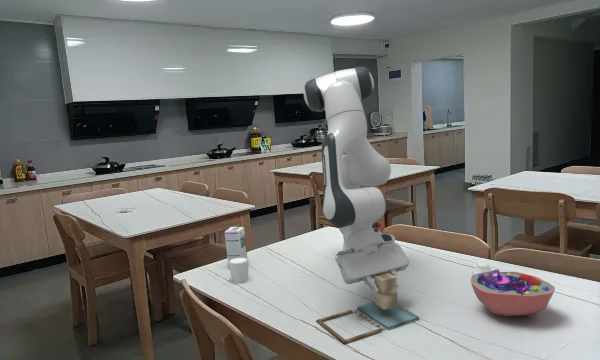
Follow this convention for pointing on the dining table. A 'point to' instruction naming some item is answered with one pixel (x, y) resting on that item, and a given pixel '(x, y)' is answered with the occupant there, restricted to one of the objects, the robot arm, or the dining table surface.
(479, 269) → the muffin
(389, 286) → the birch stub block
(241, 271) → the white cylinder
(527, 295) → the cell model
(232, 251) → the syrup box
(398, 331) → the dining table surface
